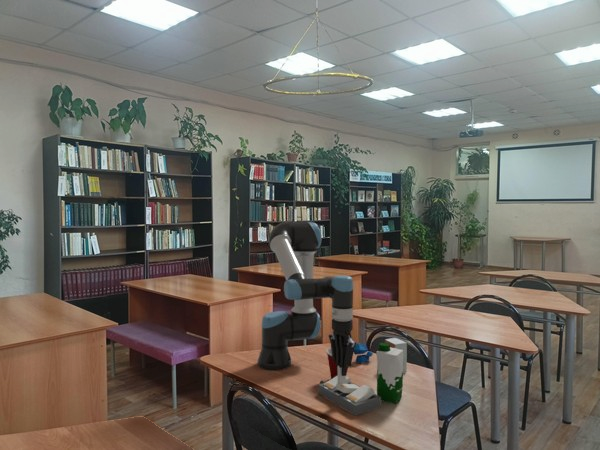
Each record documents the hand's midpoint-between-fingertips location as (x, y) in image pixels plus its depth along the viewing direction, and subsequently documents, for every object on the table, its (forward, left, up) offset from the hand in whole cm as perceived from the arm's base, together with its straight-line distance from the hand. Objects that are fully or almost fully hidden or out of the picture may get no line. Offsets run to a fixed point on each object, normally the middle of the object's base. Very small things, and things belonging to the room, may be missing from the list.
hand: (341, 383), depth 152 cm
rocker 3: (+6, +4, -4) cm, 8 cm away
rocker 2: (0, +4, -4) cm, 5 cm away
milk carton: (+7, +17, -7) cm, 20 cm away
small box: (-12, +41, -7) cm, 43 cm away
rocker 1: (-7, +4, -4) cm, 8 cm away
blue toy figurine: (-28, +36, -7) cm, 46 cm away
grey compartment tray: (-3, +4, -7) cm, 8 cm away
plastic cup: (-17, +13, -7) cm, 22 cm away
